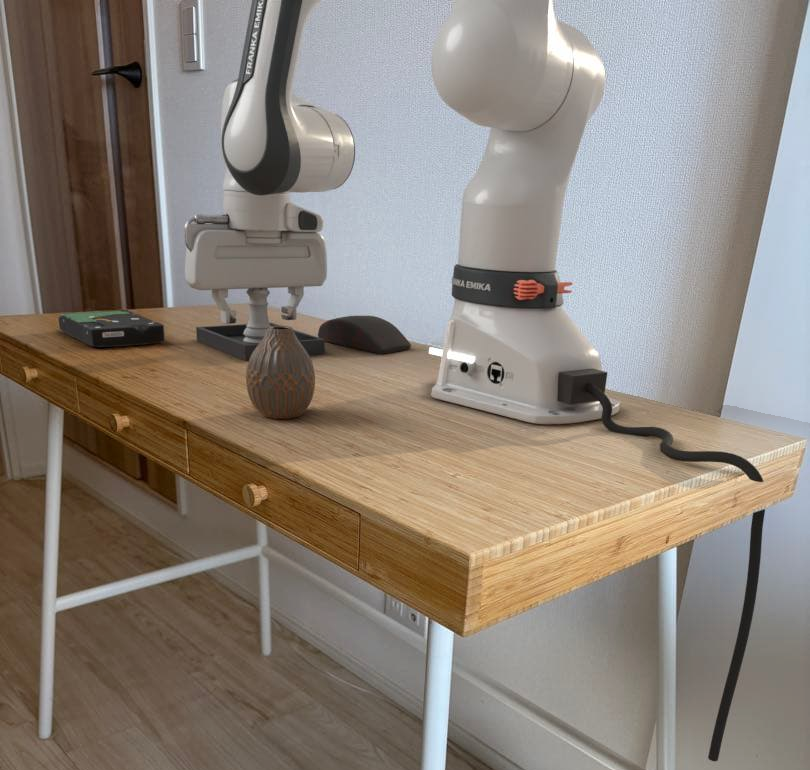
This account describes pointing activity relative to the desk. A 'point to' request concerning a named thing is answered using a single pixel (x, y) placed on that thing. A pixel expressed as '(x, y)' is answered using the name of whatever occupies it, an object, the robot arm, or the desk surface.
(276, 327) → the vase
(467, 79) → the robot arm
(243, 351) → the tray
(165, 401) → the desk surface
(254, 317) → the rook chess piece
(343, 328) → the computer mouse
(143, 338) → the disk drive
